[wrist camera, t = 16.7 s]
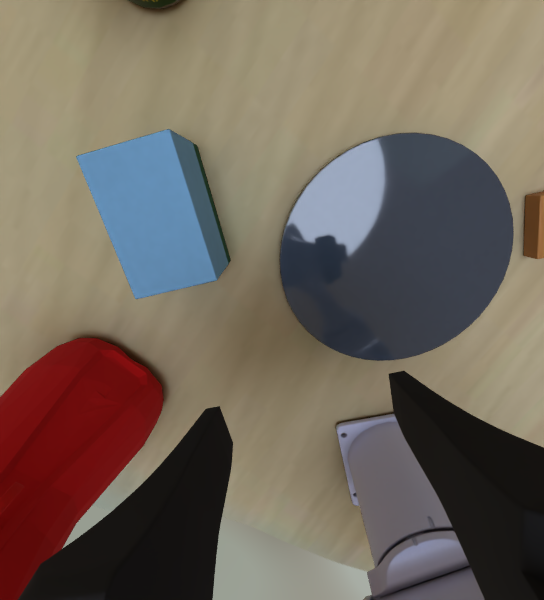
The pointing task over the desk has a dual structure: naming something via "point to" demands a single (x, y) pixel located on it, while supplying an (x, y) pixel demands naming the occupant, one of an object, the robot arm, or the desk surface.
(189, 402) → the desk surface
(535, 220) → the orange cardboard box
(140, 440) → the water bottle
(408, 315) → the plate
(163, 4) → the beer can
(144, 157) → the sponge
